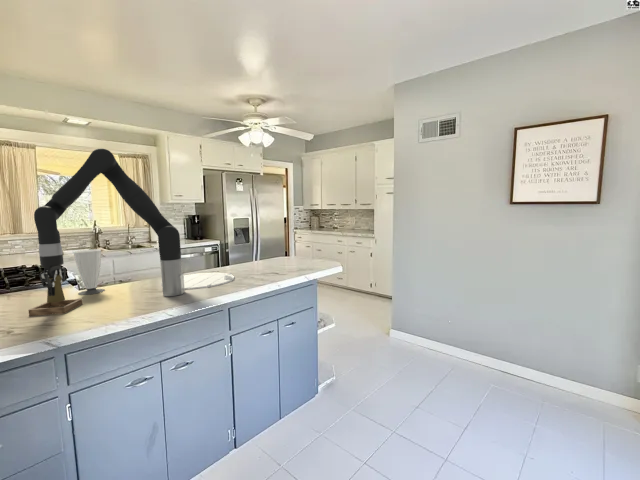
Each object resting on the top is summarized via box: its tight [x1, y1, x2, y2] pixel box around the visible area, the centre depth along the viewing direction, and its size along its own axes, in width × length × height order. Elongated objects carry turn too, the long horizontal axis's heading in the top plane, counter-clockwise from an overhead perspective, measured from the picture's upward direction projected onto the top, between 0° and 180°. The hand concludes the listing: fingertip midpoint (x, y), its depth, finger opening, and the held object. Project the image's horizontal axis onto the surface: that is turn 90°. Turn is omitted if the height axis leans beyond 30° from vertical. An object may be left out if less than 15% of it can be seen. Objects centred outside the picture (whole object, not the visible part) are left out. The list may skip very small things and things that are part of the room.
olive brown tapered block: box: [46, 275, 66, 303], centre depth 138 cm, size 6×6×11 cm
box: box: [28, 298, 83, 317], centre depth 139 cm, size 13×13×2 cm
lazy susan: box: [161, 272, 235, 290], centre depth 188 cm, size 40×39×3 cm
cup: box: [73, 248, 106, 296], centre depth 167 cm, size 12×12×22 cm
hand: (55, 294), depth 138 cm, fingers closed on olive brown tapered block, 4 cm apart
